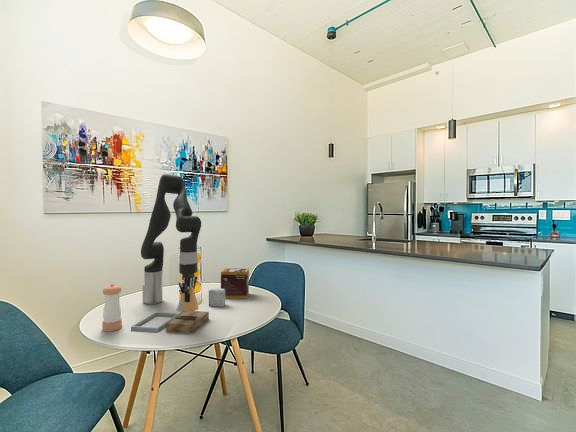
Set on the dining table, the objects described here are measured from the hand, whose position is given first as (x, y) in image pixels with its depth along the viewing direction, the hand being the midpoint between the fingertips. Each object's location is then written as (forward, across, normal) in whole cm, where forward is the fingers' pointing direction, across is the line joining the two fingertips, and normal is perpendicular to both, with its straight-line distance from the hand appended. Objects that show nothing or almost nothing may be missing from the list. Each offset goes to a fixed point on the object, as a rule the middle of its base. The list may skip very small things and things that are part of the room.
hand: (188, 301), depth 131 cm
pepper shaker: (+12, +6, -32) cm, 35 cm away
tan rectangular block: (+4, 0, +2) cm, 4 cm away
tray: (+12, 0, -15) cm, 19 cm away
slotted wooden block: (+12, 0, 0) cm, 12 cm away
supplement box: (+12, -50, +5) cm, 52 cm away
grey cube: (+12, -31, +1) cm, 33 cm away
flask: (+12, -19, -12) cm, 25 cm away
